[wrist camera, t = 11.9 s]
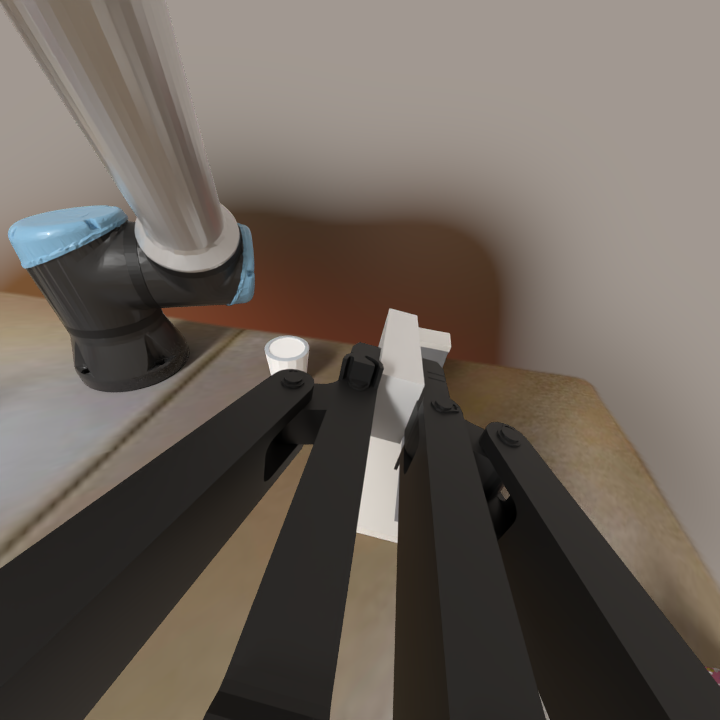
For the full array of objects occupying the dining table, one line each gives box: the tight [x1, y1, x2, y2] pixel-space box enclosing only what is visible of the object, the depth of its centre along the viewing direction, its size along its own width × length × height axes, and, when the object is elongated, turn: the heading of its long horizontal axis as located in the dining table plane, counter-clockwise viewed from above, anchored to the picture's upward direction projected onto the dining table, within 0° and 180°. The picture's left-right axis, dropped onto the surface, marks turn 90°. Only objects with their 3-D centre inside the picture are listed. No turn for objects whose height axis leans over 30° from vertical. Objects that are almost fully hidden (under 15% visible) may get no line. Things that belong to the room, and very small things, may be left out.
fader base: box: [356, 436, 404, 543], centre depth 40 cm, size 26×10×2 cm, turn 169°
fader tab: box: [418, 327, 451, 367], centre depth 40 cm, size 3×5×13 cm, turn 79°
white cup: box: [264, 336, 309, 375], centre depth 46 cm, size 7×7×7 cm
